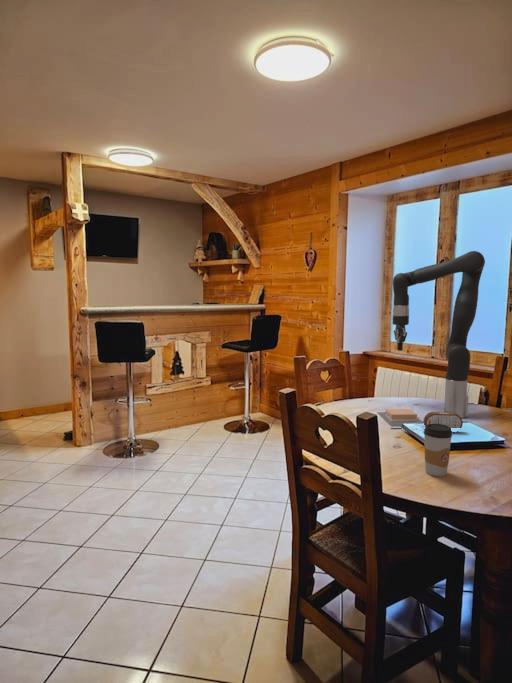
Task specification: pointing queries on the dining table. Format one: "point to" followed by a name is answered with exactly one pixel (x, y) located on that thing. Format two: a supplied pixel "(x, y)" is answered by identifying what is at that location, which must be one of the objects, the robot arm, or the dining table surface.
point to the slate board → (397, 423)
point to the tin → (444, 419)
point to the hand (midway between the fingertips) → (399, 350)
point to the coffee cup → (437, 449)
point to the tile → (401, 415)
